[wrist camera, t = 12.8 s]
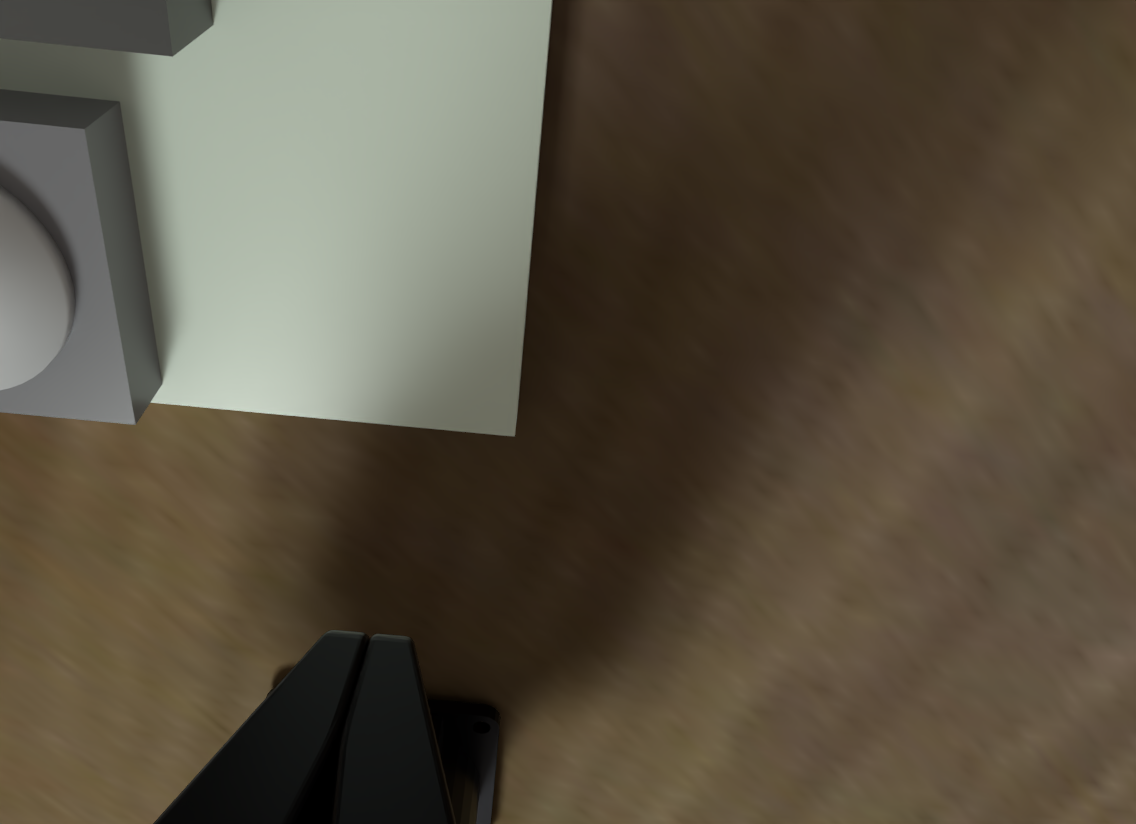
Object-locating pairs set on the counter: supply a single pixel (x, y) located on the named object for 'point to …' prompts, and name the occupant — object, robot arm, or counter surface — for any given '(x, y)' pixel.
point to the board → (269, 207)
